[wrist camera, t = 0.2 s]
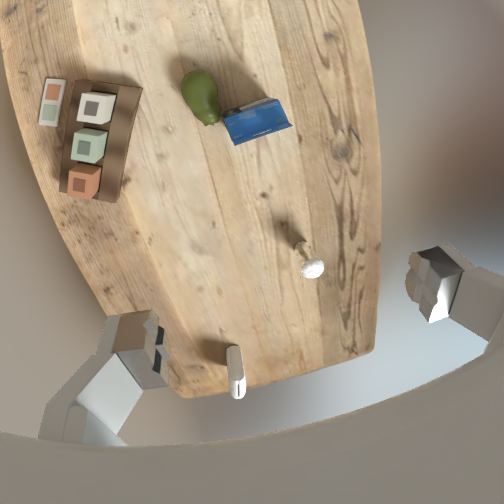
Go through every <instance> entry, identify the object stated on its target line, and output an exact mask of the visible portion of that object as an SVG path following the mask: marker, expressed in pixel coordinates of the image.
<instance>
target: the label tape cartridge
mask: <svg viewBox="0 0 504 504" xmlns="http://www.w3.org/2000/svg"><path fill="white" fill-rule="evenodd" d="M222 117H223V120H224V122H225V125H226V127H227V130H228V132H229V135H230V137H231V140H232V141H233V143H234V145H235V146H236V145H238V144H241V143H244V142H247V141H250V140H252V139H255V138H258V137H261V136H264V135H267V134H270V133H273V132H276V131H279V130H282V129H285V128H288V127H291V126H293V125H292V124H290V123H289V122H288V119H287V117H286V115H285V113H284V110H283V108H282V106H281V104H280V102H279V100H278V99H273V98H269V97H267V98H264V99H261V100H258V101H255V102H252V103H249V104H246V105H243V106H240V107H237V108H234V109H232V110H229V111H226V112H224V113H222ZM267 130H270V131H267ZM265 131H267V132H265ZM262 132H265V133H263V134H259V133H262ZM256 134H258V135H256ZM254 135H255V136H254Z"/></svg>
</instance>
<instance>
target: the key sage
mask: <svg viewBox="0 0 504 504" xmlns="http://www.w3.org/2000/svg"><path fill="white" fill-rule="evenodd" d="M107 133H108V132H107V131H101V130H95V129H89V128H84V129H81V130H79V131H77V132H75V133H74V139H73V145H72V153H71V159H73V160H78V161H84V162H89V163H96V162H97V161H98V160H99V159H101V158H102V157H103V155H104V149H105V144H106V138H107Z"/></svg>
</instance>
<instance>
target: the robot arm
mask: <svg viewBox="0 0 504 504" xmlns="http://www.w3.org/2000/svg"><path fill="white" fill-rule="evenodd" d="M408 264H409V265H410V267H411V269H410V270H409V272H408V273H407V274H406V280H405V284H406V290H407V293H408V295H409V297H410V298H411V299H412V301H414V302H416V303H418V304H420V305H419V310H420V312H421V313H422V314H423V316H424V317H425V318H426V319H427V321H428V322H429V323H430V322H433V321H436V320H439V319H441V318H444V317H447V316H448V317H449V318H451V319H452V320H454V321H456V322H457V323H459V324H461V325H462V326H464V327H465V328H467V329H469V330H471V331H472V332H474V333H475V334H477V335H478V336H480V337H482V338H483V339H485V340H487V341H488V344H487V346H486V348H485V350H484V353H483V354H482V355H481V356H479V357H477V358H476V359H474V360H472V361H470V362H468V363H466V364H464V365H462V366H461V367H459V368H457V369H455V370H453V371H451V372H449V373H447V374H445V375H443V376H440V377H438V378H436V379H434V380H432V381H430V382H428V383H426V384H423V385H421V386H419V387H416V388H414V389H412V390H409V391H407V392H404V393H402V394H399V395H397V396H394V397H392V398H389V399H387V400H384V401H381V402H379V403H376V404H373V405H370V406H367V407H364V408H361V409H358V410H355V411H352V412H349V413H346V414H343V415H339V416H336V417H332V418H329V419H326V420H322V421H318V422H314V423H310V424H307V425H303V426H299V427H294V428H290V429H285V430H281V431H276V432H271V433H266V434H261V435H255V436H249V437H243V438H236V439H229V440H222V441H213V442H205V443H194V444H182V445H164V446H129V445H128V444H127V443H125V442H124V441H123V440H122V439H120V438H119V437H118V436H117V435H116V434H117V433H118V431H119V429H120V428H121V426H122V425H123V423H124V421H125V420H126V418H127V417H128V415H129V413H130V412H131V410H132V409H133V407H134V405H135V404H136V402H137V401H138V399H139V397H140V396H141V394H142V393H143V390H146V389H154V388H161V387H168V385H169V368H168V366H167V364H166V362H167V361H168V360H169V358H170V344H169V339H168V336H167V333H166V331H165V329H164V328H162V327H160V326H159V317H158V315H157V313H156V311H155V310H153V309H151V310H144V311H137V312H130V313H123V314H118V315H111V316H109V317H108V318H107V319H106V322H105V325H104V328H103V332H102V335H101V338H100V342H99V345H98V349H97V352H96V355H92V356H91V357H90V358H89V359H88V360H87V361H86V362H85V363H84V364H83V365H82V366H81V367H80V369H78V370H77V372H76V373H75V374H74V375H73V376H72V377H71V378H70V379H69V380H68V381H67V382H66V383H65V384H64V386H63V387H62V388H61V389H60V390H59V391H58V392H57V393H56V394H55V395H54V396H53V397H52V399H51V400H50V401H49V402H48V403H47V404H46V407H45V411H44V415H43V419H42V423H41V427H40V431H39V435H38V439H36V438H30V437H25V436H19V435H14V434H10V433H5V432H1V431H0V504H504V276H502V275H499V274H497V273H494V272H492V271H489V270H487V269H484V268H481V267H475V266H474V265H472V263H471V262H470V261H469V260H467V259H466V258H465V257H464V256H463V255H462V254H461V253H460V252H459V251H458V250H457V249H455V248H454V247H453V246H452V245H451V244H449V243H443V244H439V245H436V246H434V247H431V248H427V249H423V250H420V251H416V252H413V253H411V255H410V257H409V262H408Z"/></svg>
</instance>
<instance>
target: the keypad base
mask: <svg viewBox="0 0 504 504" xmlns="http://www.w3.org/2000/svg"><path fill="white" fill-rule="evenodd" d="M142 90H143V88H138V87H132V86H126V85H120V84H113V83H106V82H99V81H90V80H76V81H75V85H74V90H73V94H72V99H71V104H70V109H69V114H68V120H67V126H66V132H65V139H64V146H63V154H62V163H61V173H60V185H59V192H64V193H67V191H68V179H69V170H71V169H72V168H73V167H75V166H76V165H77V164H79V163H83V164H88V165H93V166H99V167H101V174H100V181H99V188H98V191H97V192H96V193H95V195H94V196H93V197H92V199H97V200H102V201H107V202H111V203H116V202H117V200H118V199H119V197H120V190H121V184H122V178H123V173H124V167H125V162H126V157H127V152H128V147H129V142H130V138H131V133H132V129H133V125H134V120H135V116H136V112H137V108H138V105H139V101H140V97H141V94H142ZM87 92H98V93H105V94H112V95H116V98H115V102H114V106H113V110H112V114H111V119H110V121H108V122H106V123H103V124H95V123H89V122H82V121H77V115H78V110H79V105H80V101H81V96H82V93H87ZM84 128H89V129H95V130H101V131H107V132H108V133H107V138H106V144H105V149H104V155H103V157H102V158H101V159H99V160H98V161H97V162H96V163H89V162H84V161H78V160H73V159H71V153H72V145H73V139H74V133H75V132H77V131H79V130H81V129H84Z"/></svg>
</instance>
